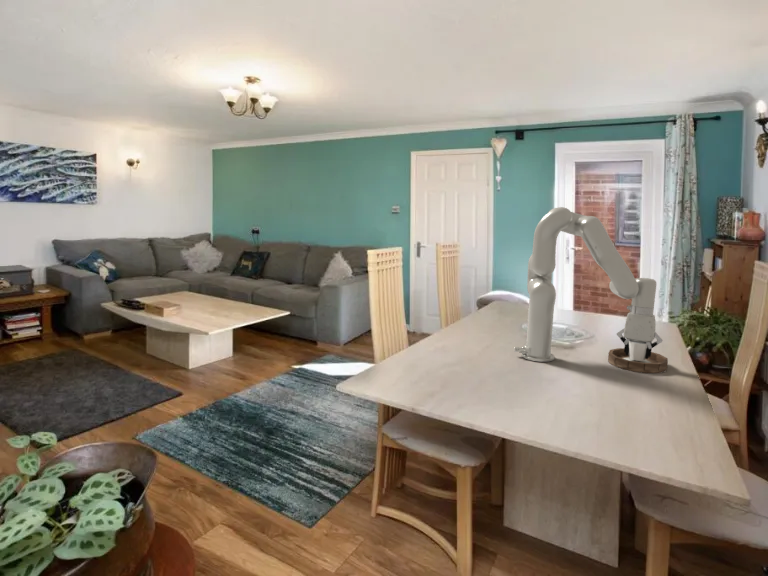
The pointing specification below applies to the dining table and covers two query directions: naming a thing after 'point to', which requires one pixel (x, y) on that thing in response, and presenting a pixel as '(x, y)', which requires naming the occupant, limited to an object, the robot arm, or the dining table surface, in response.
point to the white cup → (637, 350)
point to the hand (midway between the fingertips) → (637, 355)
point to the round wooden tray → (638, 362)
